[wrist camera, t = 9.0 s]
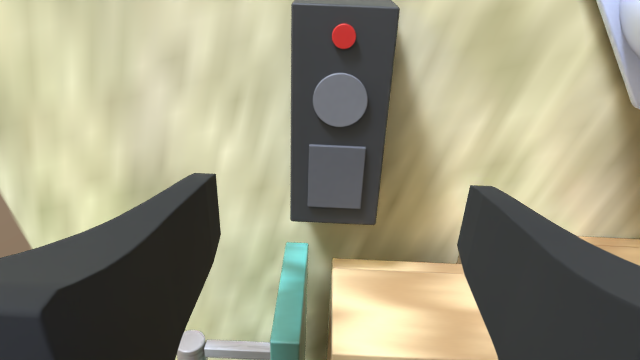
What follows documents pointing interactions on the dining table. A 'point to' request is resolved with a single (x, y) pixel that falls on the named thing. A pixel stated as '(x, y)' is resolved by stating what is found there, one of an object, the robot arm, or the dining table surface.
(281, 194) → the dining table surface
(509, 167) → the dining table surface
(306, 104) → the remote
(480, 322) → the drawer
